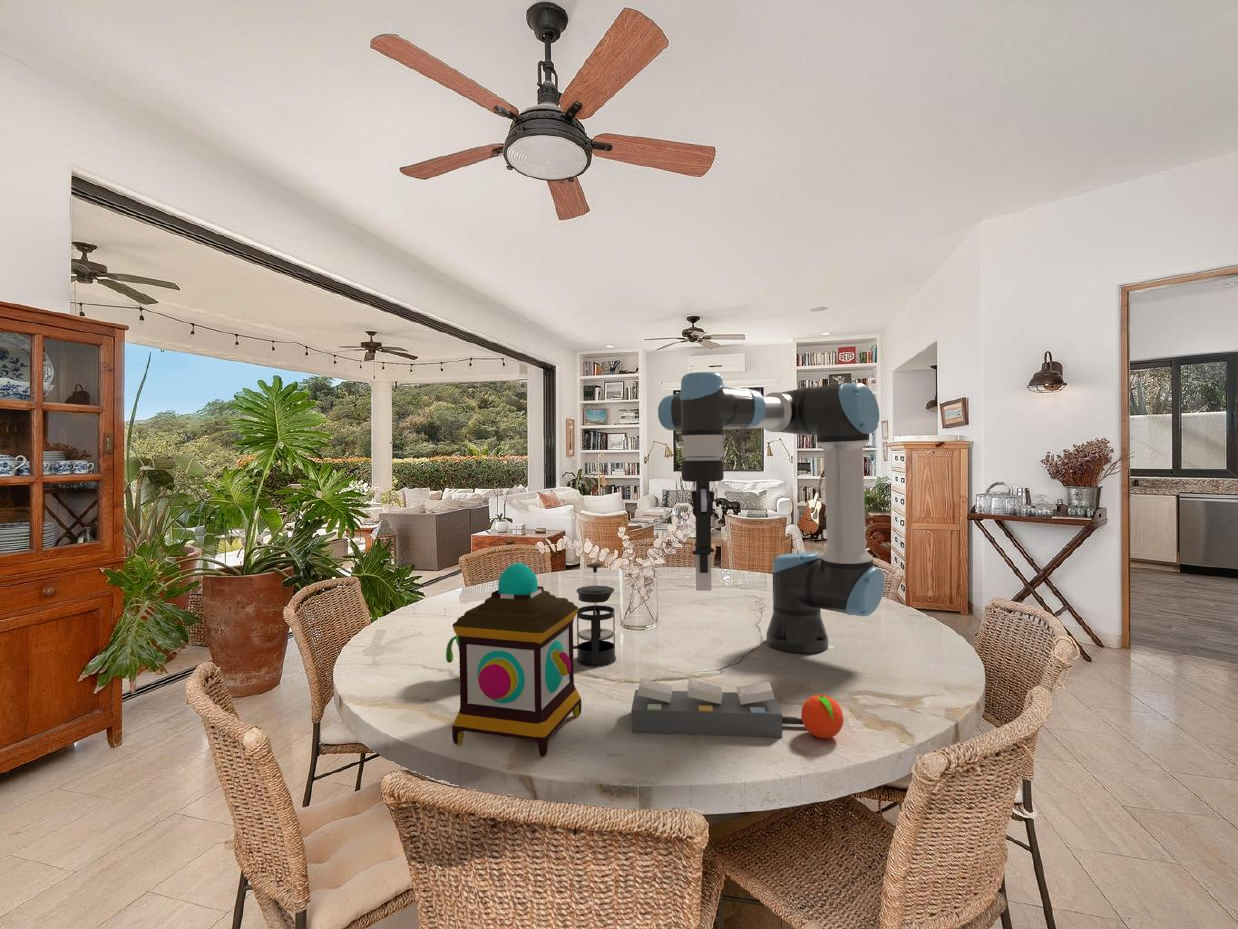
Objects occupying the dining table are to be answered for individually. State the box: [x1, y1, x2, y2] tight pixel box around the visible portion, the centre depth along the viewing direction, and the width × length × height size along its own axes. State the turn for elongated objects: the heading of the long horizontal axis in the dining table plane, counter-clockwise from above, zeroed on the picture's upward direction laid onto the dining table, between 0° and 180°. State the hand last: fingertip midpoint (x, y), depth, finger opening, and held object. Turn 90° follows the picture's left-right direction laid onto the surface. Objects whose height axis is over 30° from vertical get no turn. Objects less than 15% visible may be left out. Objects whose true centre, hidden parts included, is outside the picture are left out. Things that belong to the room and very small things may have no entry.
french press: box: [573, 562, 617, 668], centre depth 144 cm, size 12×9×23 cm
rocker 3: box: [736, 681, 775, 705], centre depth 109 cm, size 6×4×2 cm, turn 84°
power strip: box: [630, 689, 804, 738], centre depth 109 cm, size 32×9×4 cm, turn 84°
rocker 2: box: [686, 679, 723, 704], centre depth 110 cm, size 6×4×2 cm, turn 84°
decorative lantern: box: [451, 562, 582, 758], centre depth 108 cm, size 20×20×30 cm
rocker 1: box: [637, 677, 673, 703], centre depth 110 cm, size 6×4×2 cm, turn 84°
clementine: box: [800, 694, 844, 739], centre depth 104 cm, size 8×7×7 cm
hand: (703, 589), depth 109 cm, fingers closed
